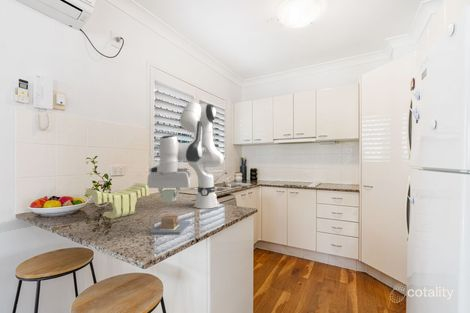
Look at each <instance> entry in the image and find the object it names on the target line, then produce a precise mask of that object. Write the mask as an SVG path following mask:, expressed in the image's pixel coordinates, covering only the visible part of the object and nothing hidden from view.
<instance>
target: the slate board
mask: <svg viewBox="0 0 470 313" xmlns="http://www.w3.org/2000/svg"><path fill="white" fill-rule="evenodd" d="M190 224H191V220H178V226H177V227H176V228H174V229H161V223H160V224H158V225H157V226H155V227H154V228H152V229H150V231H149V235H181V234H182V233H183V232H184V231H185V230H186V229H187V227H188V226H189V225H190Z"/></svg>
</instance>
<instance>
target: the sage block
mask: <svg viewBox="0 0 470 313" xmlns="http://www.w3.org/2000/svg"><path fill="white" fill-rule="evenodd" d="M176 192H177V190H176V188H165V189H164V190H162V197H161V202H164V203H165V202H168V203H170V202H174V201H177V197H174V194H175V193H176Z"/></svg>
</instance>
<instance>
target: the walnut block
mask: <svg viewBox="0 0 470 313" xmlns="http://www.w3.org/2000/svg"><path fill="white" fill-rule="evenodd" d="M178 221H179V215H178V214H166V215H164V216H163V217H161V219H160V224H161V229H174V228H176V227H177V226H178Z"/></svg>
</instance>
